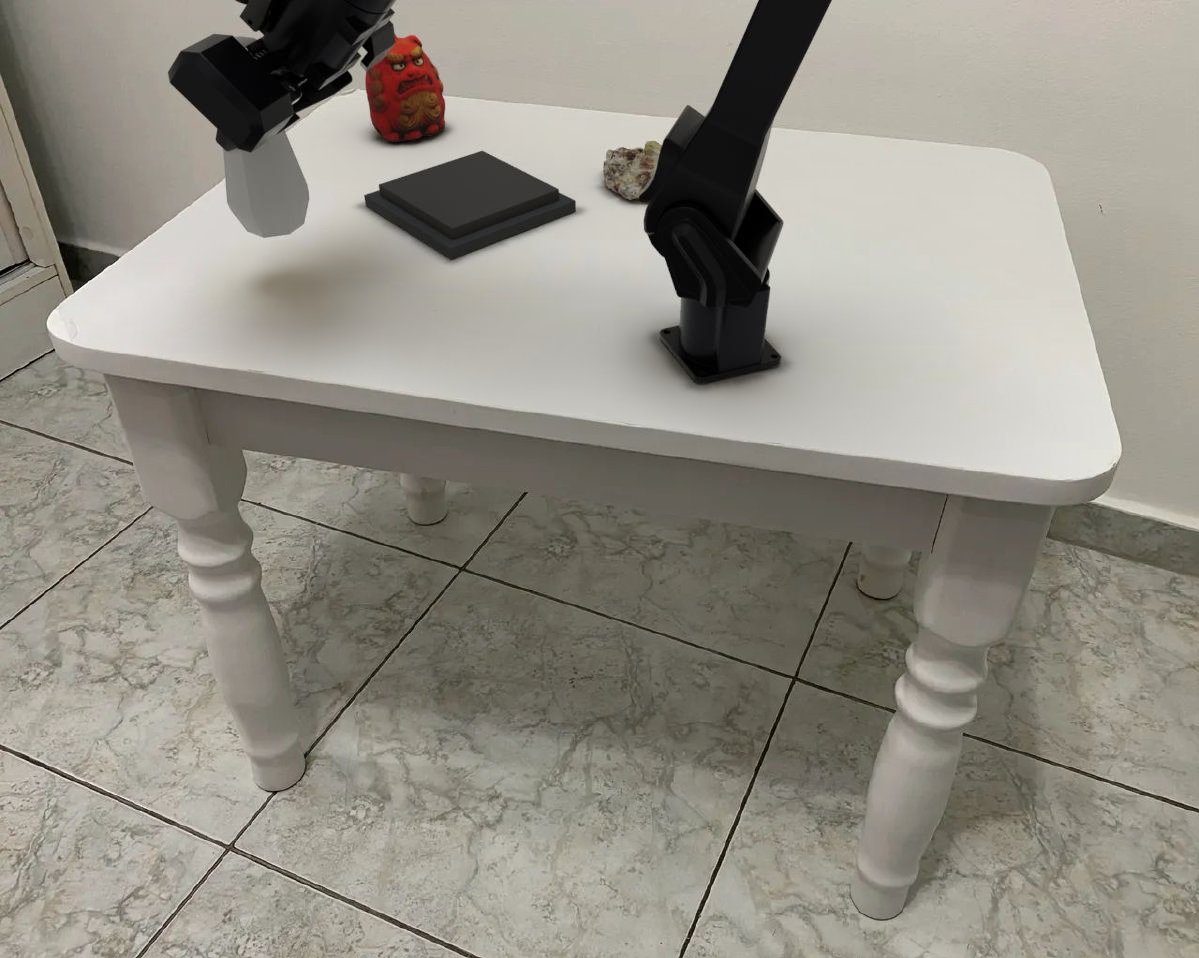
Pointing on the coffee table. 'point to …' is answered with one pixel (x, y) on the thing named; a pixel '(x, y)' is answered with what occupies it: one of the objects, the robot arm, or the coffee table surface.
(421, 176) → the pad stack
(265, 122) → the robot arm
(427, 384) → the coffee table surface
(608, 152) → the mineral rock
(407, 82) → the red clay folk toy
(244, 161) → the salt shaker
